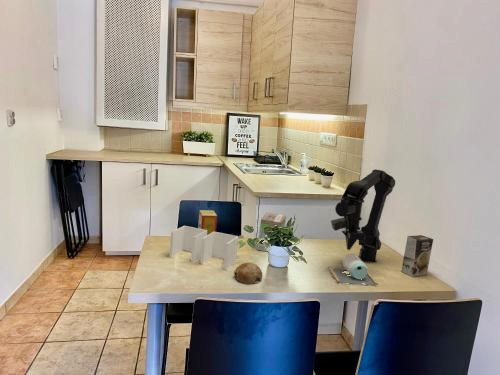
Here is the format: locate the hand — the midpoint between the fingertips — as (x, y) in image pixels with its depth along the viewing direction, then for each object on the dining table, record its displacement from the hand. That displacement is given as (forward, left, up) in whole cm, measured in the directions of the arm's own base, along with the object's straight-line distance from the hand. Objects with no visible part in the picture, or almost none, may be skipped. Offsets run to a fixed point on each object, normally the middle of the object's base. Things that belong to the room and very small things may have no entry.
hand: (348, 249), depth 169 cm
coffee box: (-30, 0, -9) cm, 31 cm away
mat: (0, +9, -8) cm, 12 cm away
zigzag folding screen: (+60, +1, -9) cm, 61 cm away
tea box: (+30, -21, -9) cm, 38 cm away
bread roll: (+42, +17, -9) cm, 47 cm away
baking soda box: (+60, -15, -9) cm, 63 cm away
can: (-1, +1, -5) cm, 5 cm away
